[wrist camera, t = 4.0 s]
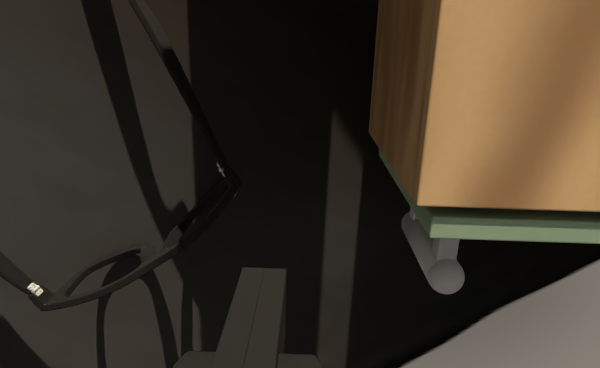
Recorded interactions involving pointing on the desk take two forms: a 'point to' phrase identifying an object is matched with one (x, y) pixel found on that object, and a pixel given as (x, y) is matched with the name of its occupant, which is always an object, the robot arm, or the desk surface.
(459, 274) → the sliding door
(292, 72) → the desk surface
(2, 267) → the glasses
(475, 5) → the cabinet
